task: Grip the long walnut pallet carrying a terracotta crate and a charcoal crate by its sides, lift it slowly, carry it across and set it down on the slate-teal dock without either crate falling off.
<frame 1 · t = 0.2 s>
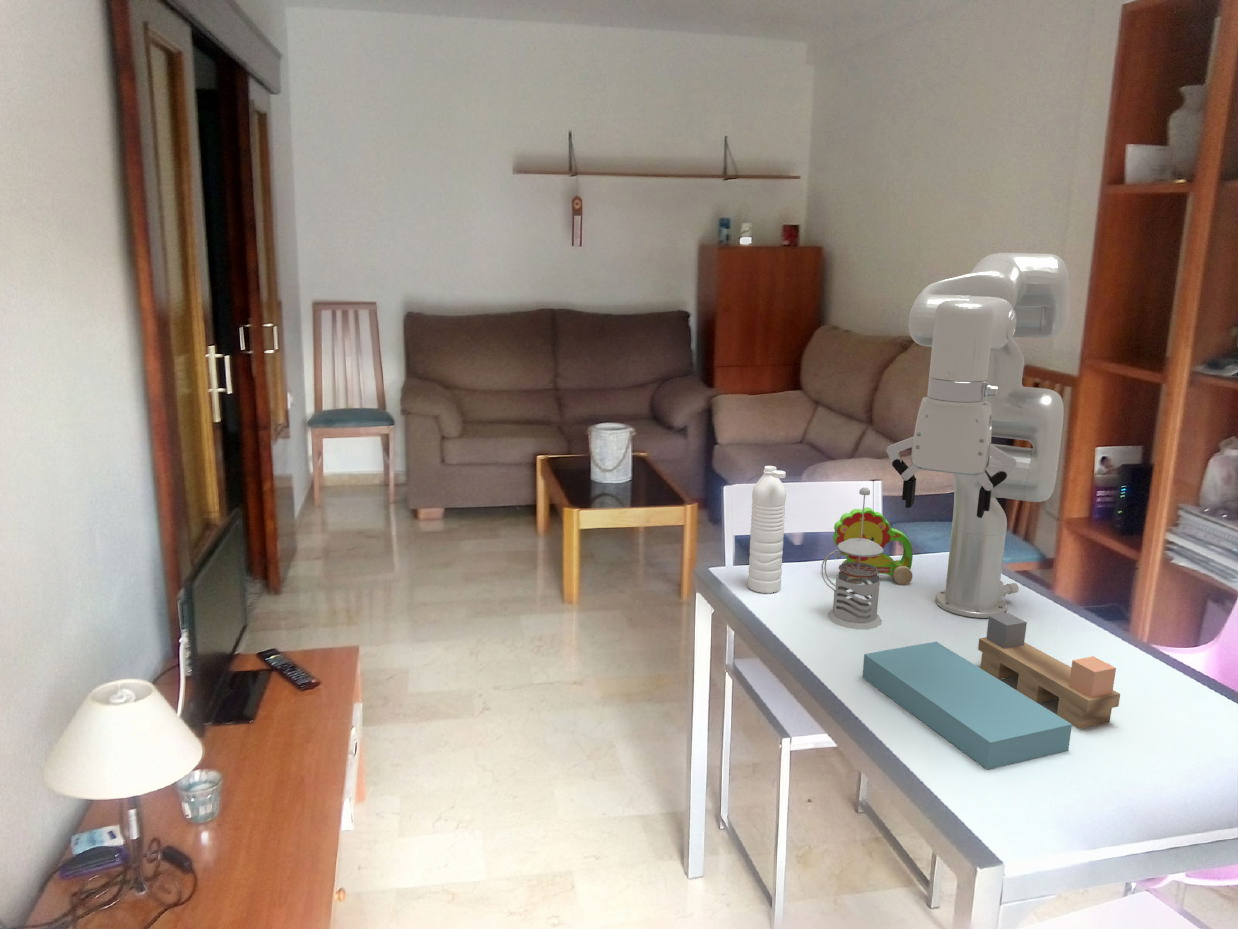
hand: (944, 510, 132), 31 cm above the table, tool pointing down, fingers open, 9 cm apart
french press: (850, 618, 172), on the table
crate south: (1004, 642, 150), point 5 cm above the table, touching pallet
dock: (957, 711, 138), on the table
water bottle: (766, 591, 184), on the table
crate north: (1090, 689, 135), point 5 cm above the table, touching pallet
toy lion: (869, 580, 191), on the table
pallet: (1041, 694, 144), on the table, touching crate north, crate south
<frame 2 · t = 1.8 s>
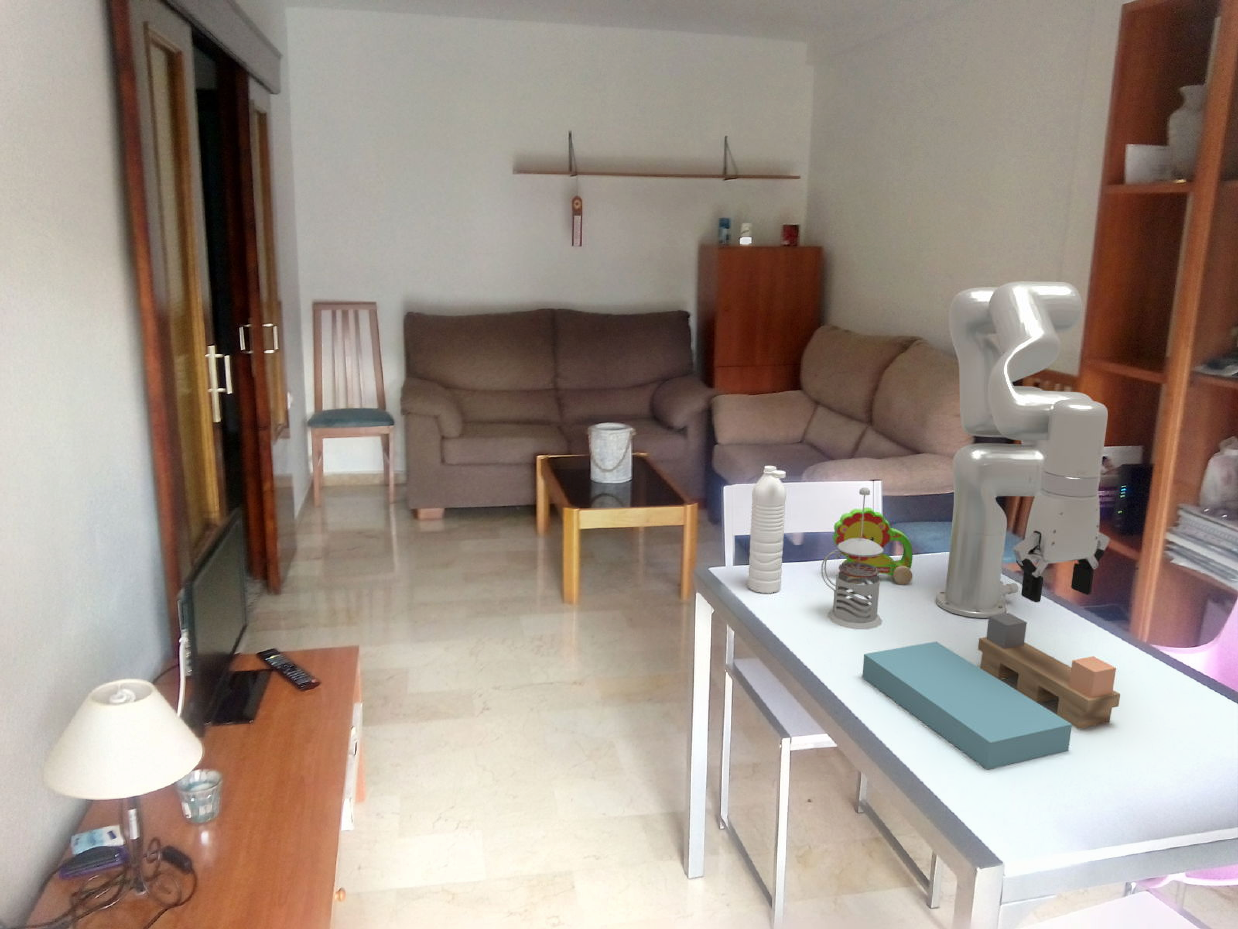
hand: (1055, 595, 139), 16 cm above the table, tool pointing down, fingers open, 9 cm apart
nothing on the table moved.
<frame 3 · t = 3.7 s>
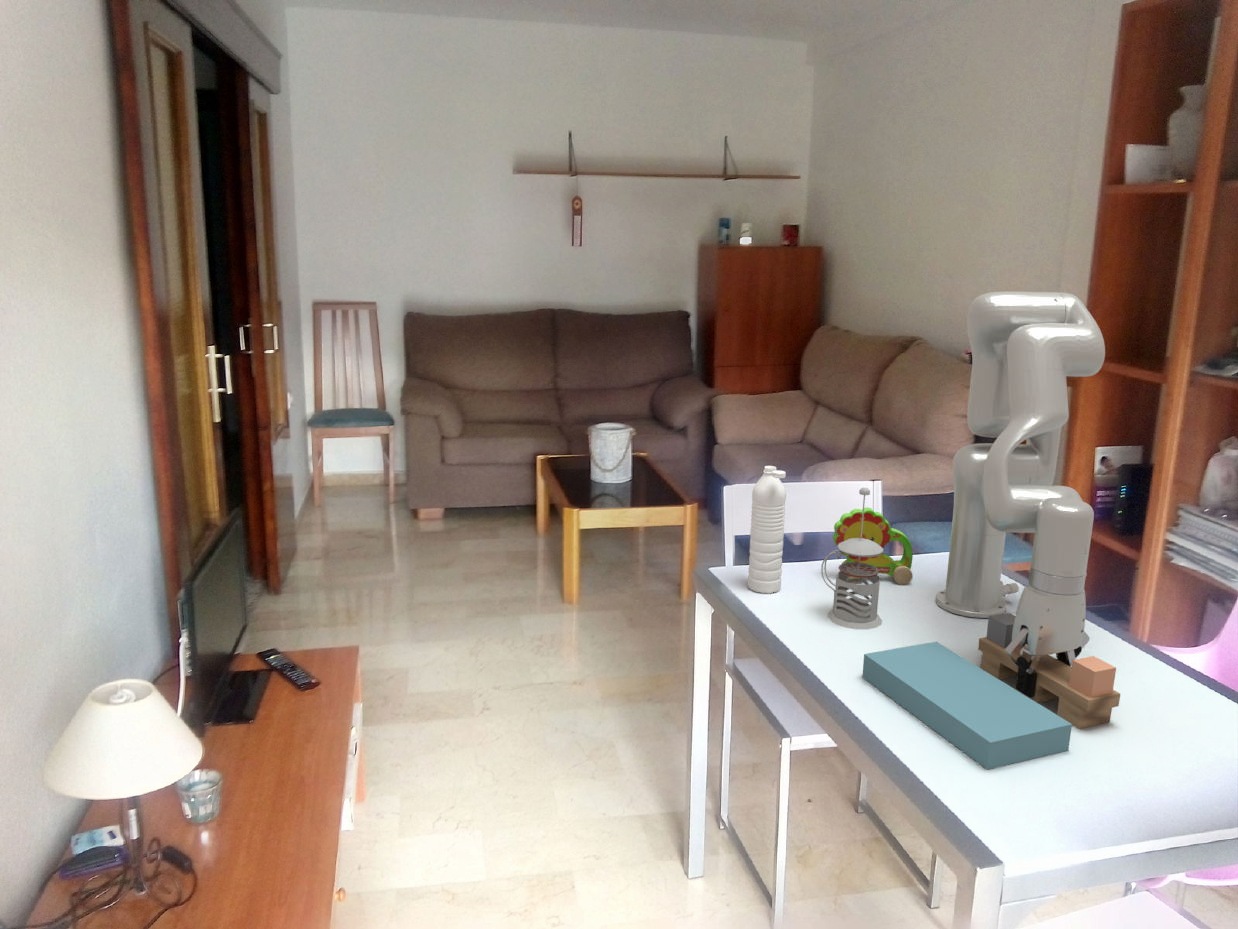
hand: (1042, 688, 144), 1 cm above the table, tool pointing down, fingers closed on pallet, 6 cm apart
pallet: (1041, 693, 144), on the table, touching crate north, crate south, gripper
everything else where it was.
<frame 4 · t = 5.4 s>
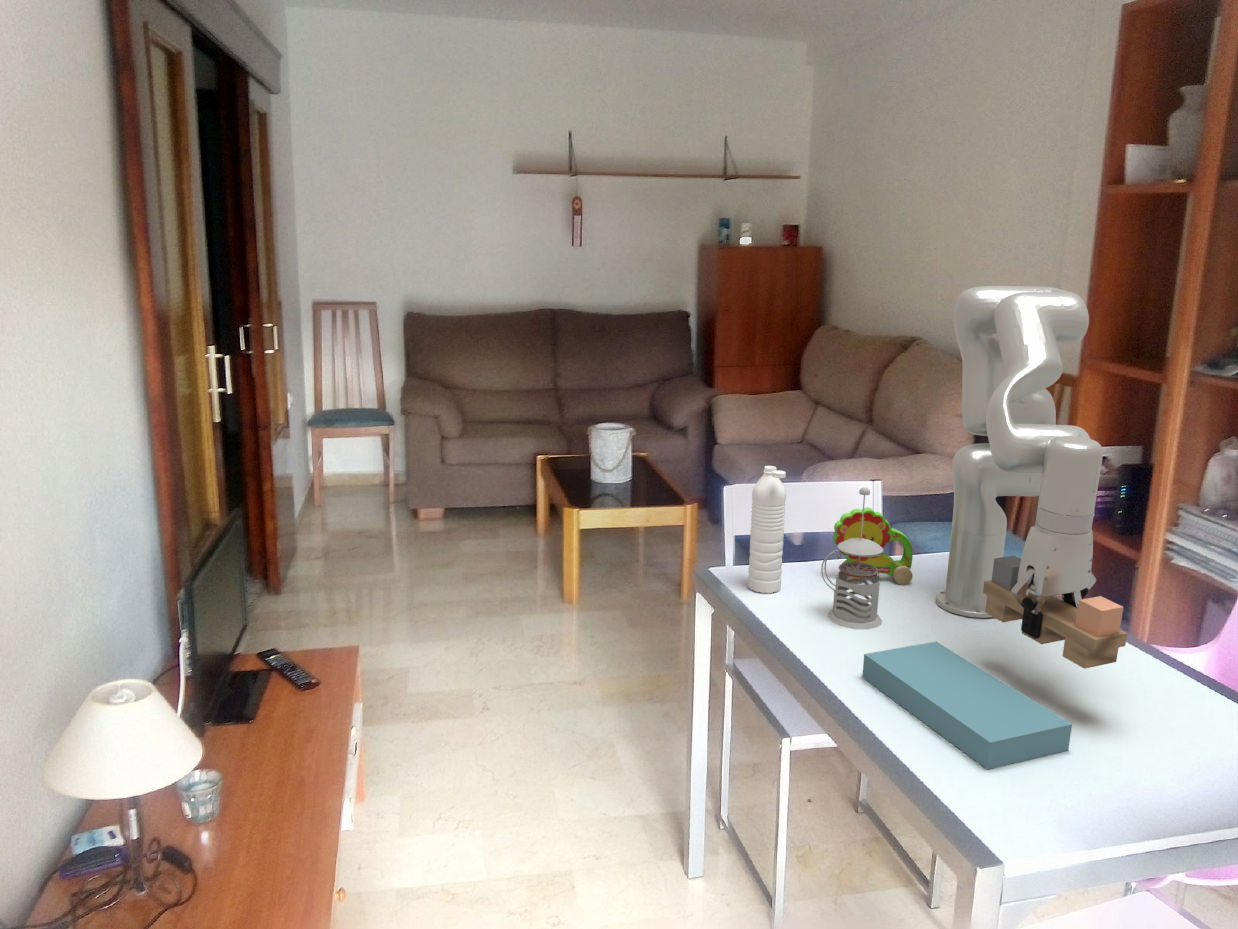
hand: (1047, 630, 142), 10 cm above the table, tool pointing down, fingers closed on pallet, 6 cm apart
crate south: (1010, 584, 149), point 15 cm above the table, touching pallet
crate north: (1097, 629, 133), point 14 cm above the table, touching pallet
pallet: (1046, 635, 142), point 9 cm above the table, touching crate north, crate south, gripper
everything else where it was.
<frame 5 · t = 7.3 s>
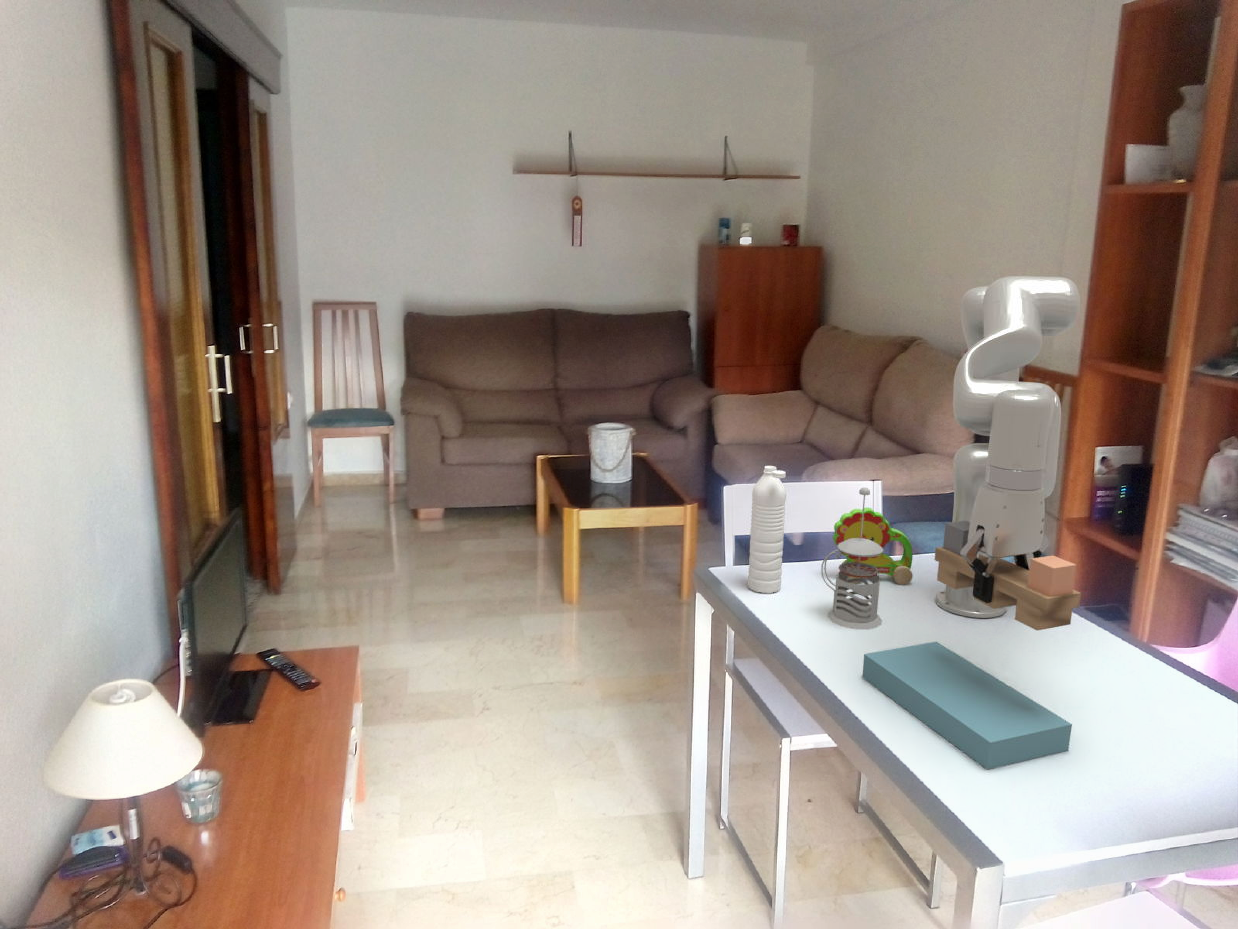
hand: (1000, 595, 136), 18 cm above the table, tool pointing down, fingers closed on pallet, 6 cm apart
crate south: (962, 550, 142), point 22 cm above the table, touching pallet
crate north: (1049, 589, 127), point 22 cm above the table, touching pallet
pallet: (999, 601, 136), point 17 cm above the table, touching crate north, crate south, gripper
everything else where it was.
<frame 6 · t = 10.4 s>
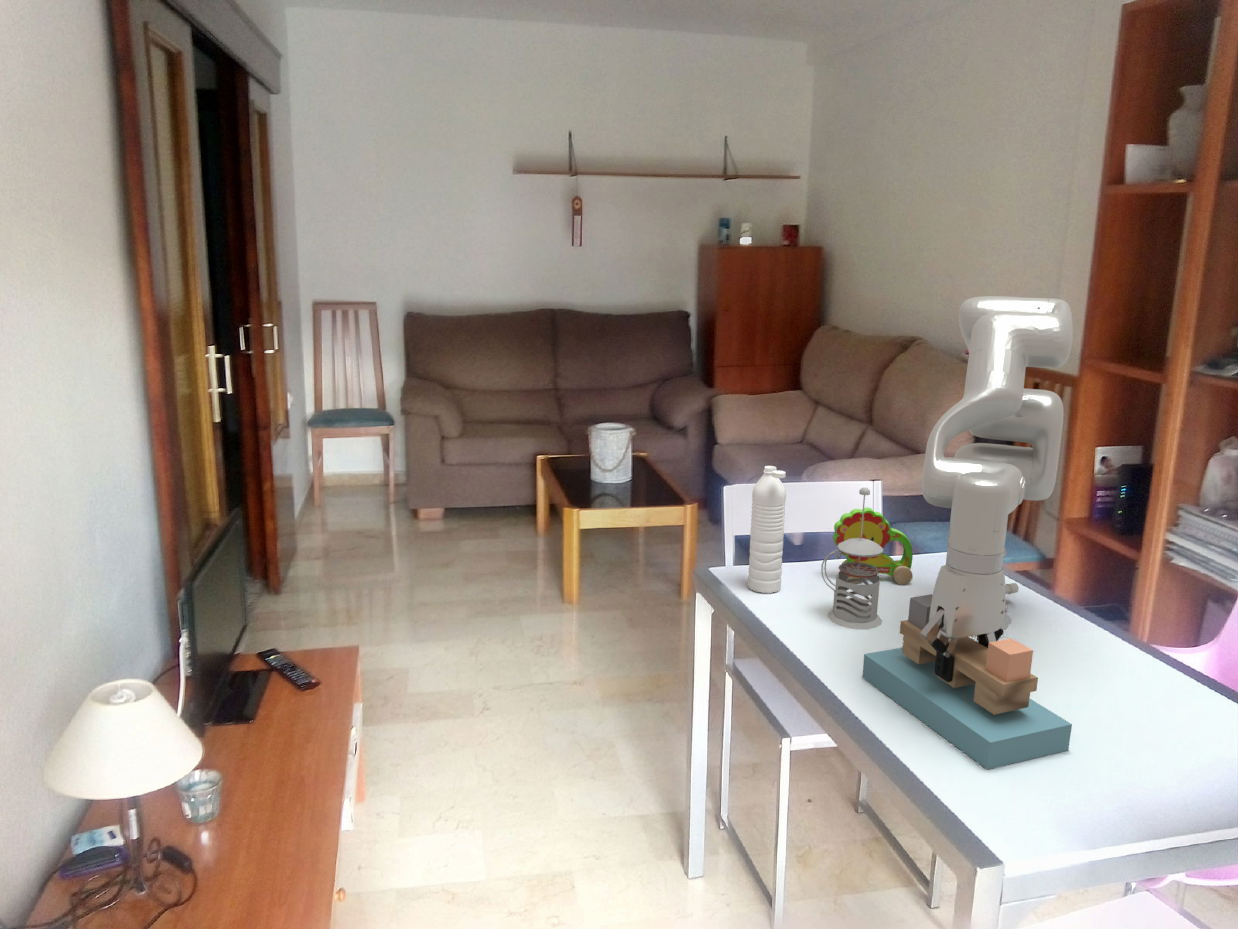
hand: (961, 673, 137), 6 cm above the table, tool pointing down, fingers closed on pallet, 6 cm apart
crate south: (926, 624, 144), point 10 cm above the table, touching pallet
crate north: (1007, 673, 128), point 10 cm above the table, touching pallet
pallet: (961, 678, 137), point 5 cm above the table, touching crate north, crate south, gripper
everything else where it was.
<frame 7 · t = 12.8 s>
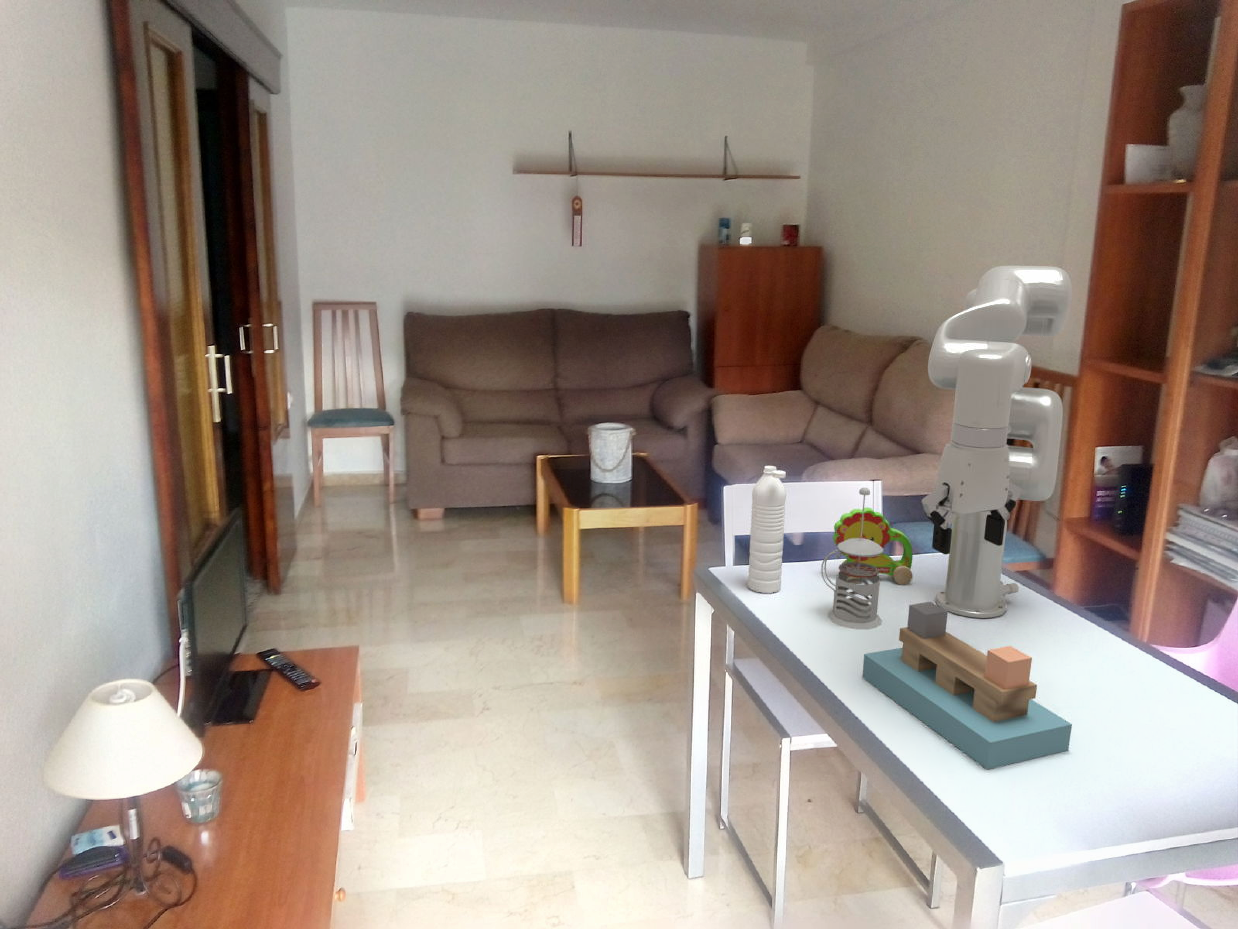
hand: (967, 547, 139), 24 cm above the table, tool pointing down, fingers open, 9 cm apart
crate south: (926, 632, 144), point 9 cm above the table, touching pallet
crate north: (1006, 680, 128), point 9 cm above the table, touching pallet
pallet: (960, 686, 137), point 4 cm above the table, touching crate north, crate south, dock
everything else where it was.
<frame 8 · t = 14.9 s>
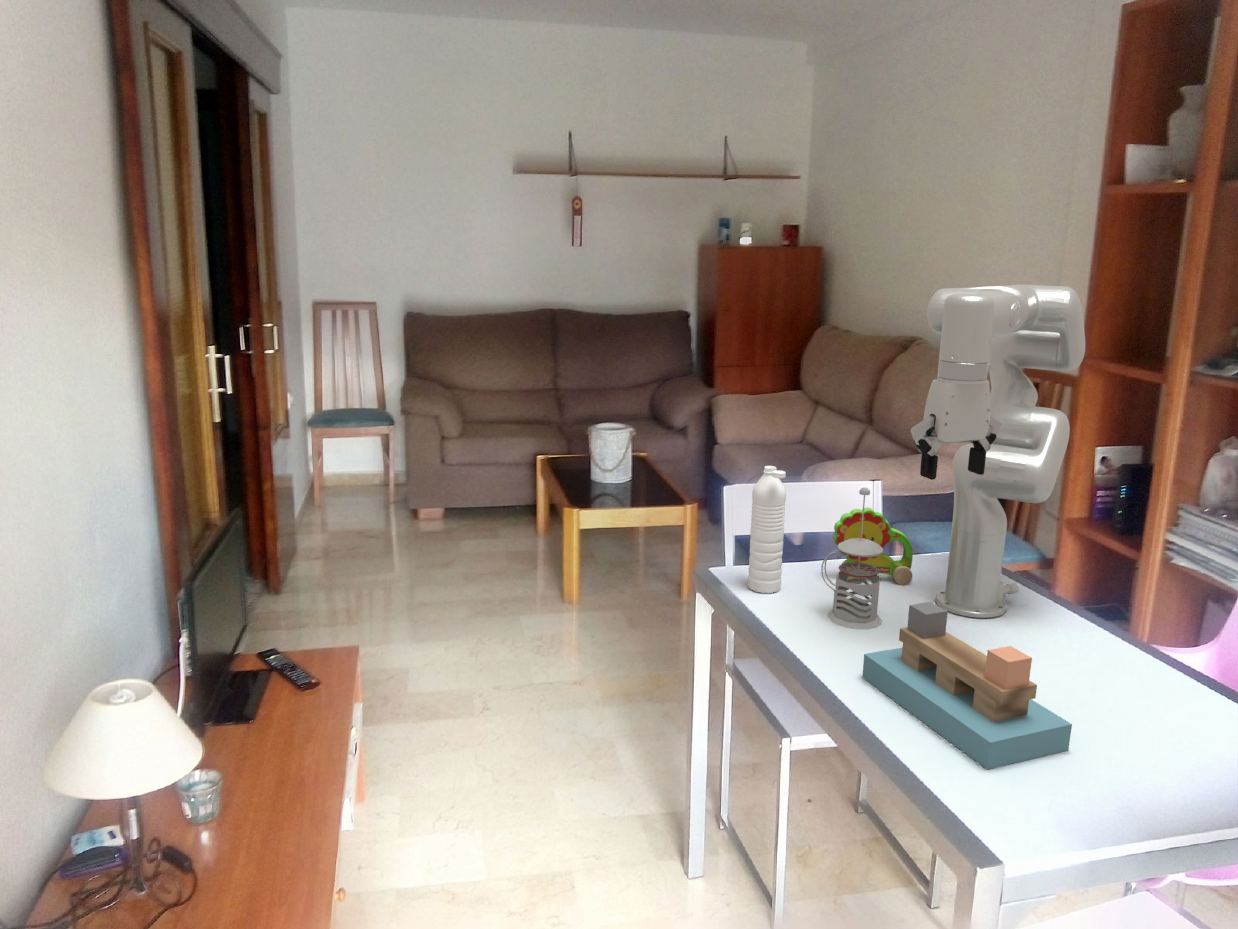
hand: (951, 475, 153), 30 cm above the table, tool pointing down, fingers open, 9 cm apart
nothing on the table moved.
at the end: pallet inside the target area on the dock (0.2 cm from its centre), point 4.0 cm above the dock's base; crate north inside the target area on the pallet (0.5 cm from its centre), point 5.0 cm above the pallet's base; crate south inside the target area on the pallet (0.5 cm from its centre), point 5.0 cm above the pallet's base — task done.
